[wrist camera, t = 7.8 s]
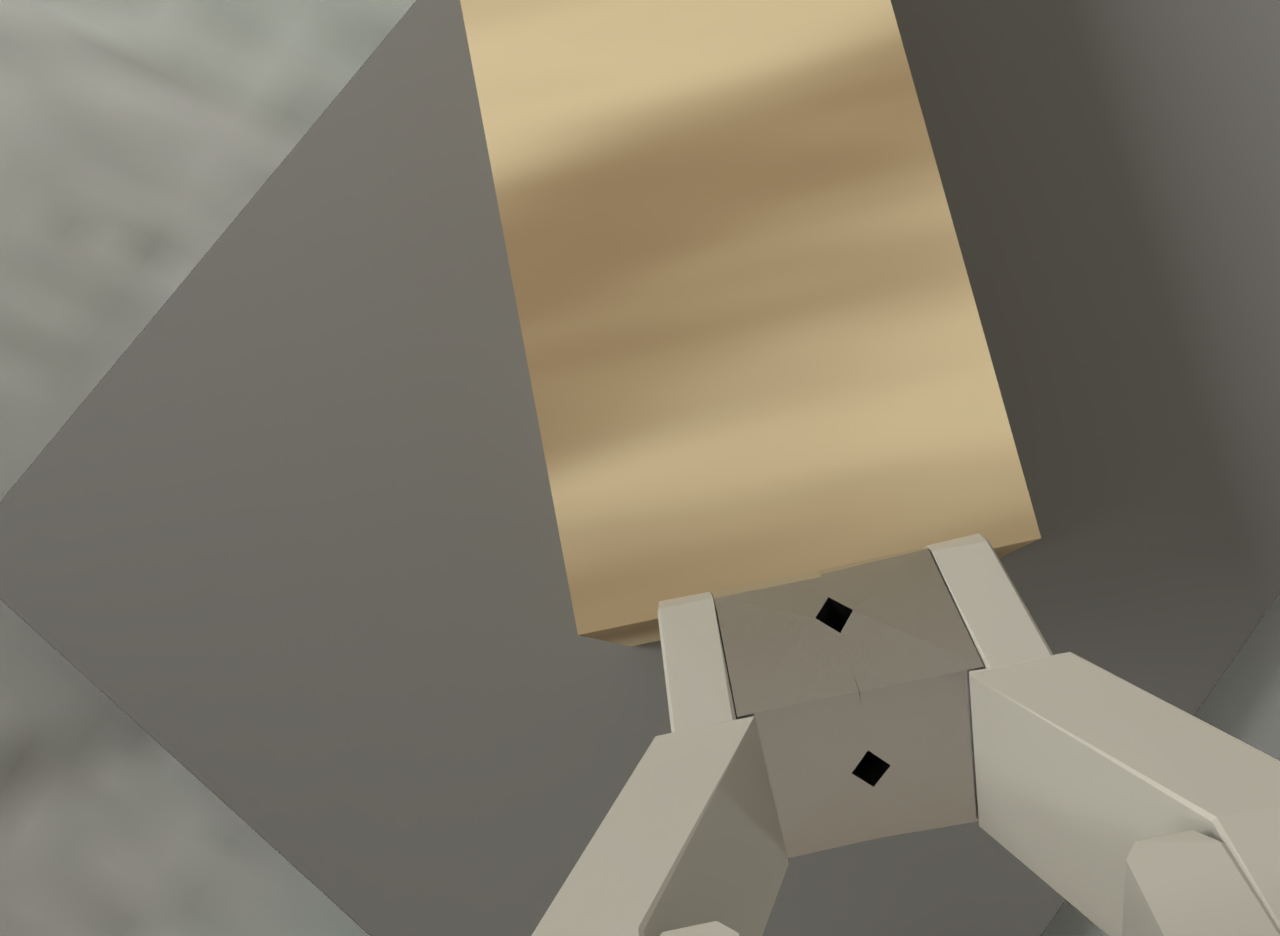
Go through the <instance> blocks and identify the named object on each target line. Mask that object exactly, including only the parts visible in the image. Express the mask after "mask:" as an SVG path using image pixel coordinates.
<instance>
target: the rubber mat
mask: <svg viewBox="0 0 1280 936" xmlns="http://www.w3.org/2000/svg"><path fill="white" fill-rule="evenodd" d="M891 4H892V7H893V11H894V15H895V18H896V22H897V25H898V29H899V32H900V36H901V40H902V43H903V47H904V50H905V54H906V57H907V61H908V64H909V68H910V72H911V75H912V79H913V82H914V86H915V89H916V93H917V97H918V100H919V104H920V107H921V111H922V114H923V118H924V122H925V125H926V129H927V132H928V136H929V139H930V143H931V146H932V150H933V154H934V157H935V161H936V164H937V168H938V171H939V175H940V179H941V182H942V186H943V189H944V193H945V196H946V200H947V203H948V207H949V211H950V214H951V218H952V221H953V225H954V228H955V232H956V236H957V239H958V243H959V246H960V250H961V253H962V257H963V261H964V264H965V268H966V271H967V275H968V278H969V282H970V285H971V289H972V293H973V296H974V300H975V303H976V307H977V310H978V314H979V318H980V321H981V325H982V328H983V332H984V335H985V339H986V343H987V346H988V350H989V353H990V357H991V360H992V364H993V367H994V371H995V375H996V378H997V382H998V385H999V389H1000V392H1001V396H1002V400H1003V403H1004V407H1005V410H1006V414H1007V417H1008V421H1009V425H1010V428H1011V432H1012V435H1013V439H1014V442H1015V446H1016V449H1017V453H1018V457H1019V460H1020V464H1021V467H1022V471H1023V474H1024V478H1025V482H1026V485H1027V489H1028V492H1029V496H1030V499H1031V503H1032V507H1033V510H1034V514H1035V517H1036V521H1037V524H1038V528H1039V531H1040V535H1041V539H1039V540H1037V541H1035V542H1032V543H1030V544H1028V545H1026V546H1024V547H1022V548H1020V549H1018V550H1016V551H1014V552H1011V553H1009V554H1007V555H1005V556H1003V557H1001V558H999V560H1000V561H1001V563H1002V565H1003V567H1004V569H1005V570H1006V572H1007V574H1008V576H1009V577H1010V579H1011V581H1012V583H1013V584H1014V586H1015V588H1016V590H1017V591H1018V593H1019V595H1020V597H1021V599H1022V600H1023V602H1024V604H1025V606H1026V607H1027V609H1028V611H1029V613H1030V614H1031V616H1032V618H1033V620H1034V621H1035V623H1036V625H1037V627H1038V629H1039V630H1040V632H1041V634H1042V636H1043V637H1044V639H1045V641H1046V643H1047V644H1048V646H1049V648H1050V650H1051V651H1052V653H1053V655H1056V654H1061V653H1066V652H1072V653H1074V654H1076V655H1078V656H1080V657H1082V658H1084V659H1086V660H1088V661H1090V662H1091V663H1093V664H1095V665H1097V666H1099V667H1101V668H1103V669H1105V670H1107V671H1109V672H1111V673H1113V674H1114V675H1116V676H1118V677H1120V678H1122V679H1124V680H1126V681H1128V682H1130V683H1132V684H1134V685H1136V686H1137V687H1139V688H1141V689H1143V690H1145V691H1147V692H1149V693H1151V694H1153V695H1155V696H1157V697H1159V698H1160V699H1162V700H1164V701H1166V702H1168V703H1170V704H1172V705H1174V706H1176V707H1178V708H1180V709H1182V710H1183V711H1185V712H1187V713H1189V714H1191V715H1193V716H1194V715H1195V713H1196V712H1197V710H1198V709H1199V707H1200V706H1201V704H1202V703H1203V702H1204V700H1205V699H1206V697H1207V696H1208V694H1209V693H1210V692H1211V690H1212V689H1213V687H1214V686H1215V684H1216V683H1217V682H1218V680H1219V679H1220V677H1221V676H1222V674H1223V673H1224V671H1225V670H1226V669H1227V667H1228V666H1229V664H1230V663H1231V661H1232V660H1233V659H1234V657H1235V656H1236V654H1237V653H1238V651H1239V650H1240V648H1241V647H1242V646H1243V644H1244V643H1245V641H1246V640H1247V638H1248V637H1249V636H1250V634H1251V633H1252V631H1253V630H1254V628H1255V627H1256V625H1257V624H1258V623H1259V621H1260V620H1261V618H1262V617H1263V615H1264V614H1265V613H1266V611H1267V610H1268V608H1269V607H1270V605H1271V604H1272V602H1273V601H1274V600H1275V598H1276V597H1277V595H1278V594H1279V592H1280V0H891ZM0 599H1V600H2V601H3V602H4V603H5V604H6V605H7V606H8V607H9V608H10V609H12V610H13V611H14V612H15V613H16V614H17V615H18V616H19V617H20V618H21V619H23V620H24V621H25V622H26V623H27V624H28V625H29V626H30V627H31V628H32V629H34V630H35V631H36V632H37V633H38V634H39V635H40V636H41V637H42V638H43V639H45V640H46V641H47V642H48V643H49V644H50V645H51V646H52V647H53V648H54V649H56V650H57V651H58V652H59V653H60V654H61V655H62V656H63V657H64V658H65V659H67V660H68V661H69V662H70V663H71V664H72V665H73V666H74V667H75V668H76V669H78V670H79V671H80V672H81V673H82V674H83V675H84V676H85V677H86V678H87V679H89V680H90V681H91V682H92V683H93V684H94V685H95V686H96V687H97V688H98V689H100V690H101V691H102V692H103V693H104V694H105V695H106V696H107V697H108V698H109V699H110V700H112V701H113V702H114V703H115V704H116V705H117V706H118V707H119V708H120V709H121V710H123V711H124V712H125V713H126V714H127V715H128V716H129V717H130V718H131V719H132V720H134V721H135V722H136V723H137V724H138V725H139V726H140V727H141V728H142V729H143V730H145V731H146V732H147V733H148V734H149V735H150V736H151V737H152V738H153V739H154V740H156V741H157V742H158V743H159V744H160V745H161V746H162V747H163V748H164V749H165V750H167V751H168V752H169V753H170V754H171V755H172V756H173V757H174V758H175V759H176V760H178V761H179V762H180V763H181V764H182V765H183V766H184V767H185V768H186V769H187V770H189V771H190V772H191V773H192V774H193V775H194V776H195V777H196V778H197V779H198V780H200V781H201V782H202V783H203V784H204V785H205V786H206V787H207V788H208V789H209V790H211V791H212V792H213V793H214V794H215V795H216V796H217V797H218V798H219V799H220V800H222V801H223V802H224V803H225V804H226V805H227V806H228V807H229V808H230V809H231V810H233V811H234V812H235V813H236V814H237V815H238V816H239V817H240V818H241V819H242V820H244V821H245V822H246V823H247V824H248V825H249V826H250V827H251V828H252V829H253V830H255V831H256V832H257V833H258V834H259V835H260V836H261V837H262V838H263V839H264V840H266V841H267V842H268V843H269V844H270V845H271V846H272V847H273V848H274V849H275V850H277V851H278V852H279V853H280V854H281V855H282V856H283V857H284V858H285V859H286V860H288V861H289V862H290V863H291V864H292V865H293V866H294V867H295V868H296V869H297V870H299V871H300V872H301V873H302V874H303V875H304V876H305V877H306V878H307V879H308V880H310V881H311V882H312V883H313V884H314V885H315V886H316V887H317V888H318V889H319V890H321V891H322V892H323V893H324V894H325V895H326V896H327V897H328V898H329V899H330V900H332V901H333V902H334V903H335V904H336V905H337V906H338V907H339V908H340V909H341V910H343V911H344V912H345V913H346V914H347V915H348V916H349V917H350V918H351V919H352V920H354V921H355V922H356V923H357V924H358V925H359V926H360V927H361V928H362V929H363V930H365V931H366V932H367V933H368V934H369V935H370V936H531V935H532V934H533V932H534V931H535V929H536V927H537V926H538V924H539V922H540V921H541V919H542V918H543V916H544V914H545V913H546V911H547V910H548V908H549V906H550V905H551V903H552V902H553V900H554V898H555V897H556V895H557V894H558V892H559V890H560V889H561V887H562V886H563V884H564V882H565V881H566V879H567V878H568V876H569V874H570V873H571V871H572V869H573V868H574V866H575V865H576V863H577V861H578V860H579V858H580V857H581V855H582V853H583V852H584V850H585V849H586V847H587V845H588V844H589V842H590V841H591V839H592V837H593V836H594V834H595V833H596V831H597V829H598V828H599V826H600V825H601V823H602V821H603V820H604V818H605V816H606V815H607V813H608V812H609V810H610V808H611V807H612V805H613V804H614V802H615V800H616V799H617V797H618V796H619V794H620V792H621V791H622V789H623V788H624V786H625V784H626V783H627V781H628V780H629V778H630V776H631V775H632V773H633V772H634V770H635V768H636V767H637V765H638V763H639V762H640V760H641V759H642V757H643V755H644V754H645V752H646V751H647V749H648V747H649V746H650V744H651V743H652V741H653V739H654V738H655V736H659V735H663V734H668V733H671V725H670V716H669V707H668V699H667V690H666V682H665V673H664V665H663V656H662V648H661V640H660V641H655V642H650V643H645V644H640V645H636V646H627V645H622V644H618V643H613V642H608V641H603V640H599V639H594V638H589V637H585V636H580V635H578V633H577V627H576V622H575V617H574V611H573V606H572V600H571V595H570V590H569V584H568V579H567V573H566V568H565V563H564V557H563V552H562V547H561V541H560V536H559V530H558V525H557V520H556V514H555V509H554V503H553V498H552V493H551V487H550V482H549V477H548V471H547V466H546V460H545V455H544V450H543V444H542V439H541V433H540V428H539V423H538V417H537V412H536V406H535V401H534V396H533V390H532V385H531V380H530V374H529V369H528V363H527V358H526V353H525V347H524V342H523V336H522V331H521V326H520V320H519V315H518V310H517V304H516V299H515V293H514V288H513V283H512V277H511V272H510V266H509V261H508V256H507V250H506V245H505V239H504V234H503V229H502V223H501V218H500V213H499V207H498V202H497V196H496V191H495V186H494V180H493V175H492V169H491V164H490V159H489V153H488V148H487V142H486V137H485V132H484V126H483V121H482V116H481V110H480V105H479V99H478V94H477V89H476V83H475V78H474V72H473V67H472V62H471V56H470V51H469V46H468V40H467V35H466V29H465V24H464V19H463V13H462V8H461V2H460V0H416V2H415V3H414V4H413V5H412V6H411V8H410V9H409V10H408V11H407V12H406V14H405V15H404V16H403V17H402V18H401V20H400V21H399V22H398V23H397V24H396V26H395V27H394V28H393V29H392V30H391V32H390V33H389V34H388V35H387V37H386V38H385V39H384V40H383V41H382V43H381V44H380V45H379V46H378V47H377V49H376V50H375V51H374V52H373V53H372V55H371V56H370V57H369V58H368V59H367V61H366V62H365V63H364V64H363V65H362V67H361V68H360V69H359V70H358V71H357V73H356V74H355V75H354V76H353V77H352V79H351V80H350V81H349V82H348V84H347V85H346V86H345V87H344V88H343V90H342V91H341V92H340V93H339V94H338V96H337V97H336V98H335V99H334V100H333V102H332V103H331V104H330V105H329V106H328V108H327V109H326V110H325V111H324V112H323V114H322V115H321V116H320V117H319V118H318V120H317V121H316V122H315V123H314V124H313V126H312V127H311V128H310V129H309V131H308V132H307V133H306V134H305V135H304V137H303V138H302V139H301V140H300V141H299V143H298V144H297V145H296V146H295V147H294V149H293V150H292V151H291V152H290V153H289V155H288V156H287V157H286V158H285V159H284V161H283V162H282V163H281V164H280V165H279V167H278V168H277V169H276V170H275V171H274V173H273V174H272V175H271V176H270V177H269V179H268V180H267V181H266V182H265V184H264V185H263V186H262V187H261V188H260V190H259V191H258V192H257V193H256V194H255V196H254V197H253V198H252V199H251V200H250V202H249V203H248V204H247V205H246V206H245V208H244V209H243V210H242V211H241V212H240V214H239V215H238V216H237V217H236V218H235V220H234V221H233V222H232V223H231V224H230V226H229V227H228V228H227V229H226V231H225V232H224V233H223V234H222V235H221V237H220V238H219V239H218V240H217V241H216V243H215V244H214V245H213V246H212V247H211V249H210V250H209V251H208V252H207V253H206V255H205V256H204V257H203V258H202V259H201V261H200V262H199V263H198V264H197V265H196V267H195V268H194V269H193V270H192V271H191V273H190V274H189V275H188V276H187V278H186V279H185V280H184V281H183V282H182V284H181V285H180V286H179V287H178V288H177V290H176V291H175V292H174V293H173V294H172V296H171V297H170V298H169V299H168V300H167V302H166V303H165V304H164V305H163V306H162V308H161V309H160V310H159V311H158V312H157V314H156V315H155V316H154V317H153V318H152V320H151V321H150V322H149V323H148V324H147V326H146V327H145V328H144V329H143V331H142V332H141V333H140V334H139V335H138V337H137V338H136V339H135V340H134V341H133V343H132V344H131V345H130V346H129V347H128V349H127V350H126V351H125V352H124V353H123V355H122V356H121V357H120V358H119V359H118V361H117V362H116V363H115V364H114V365H113V367H112V368H111V369H110V370H109V371H108V373H107V374H106V375H105V376H104V378H103V379H102V380H101V381H100V382H99V384H98V385H97V386H96V387H95V388H94V390H93V391H92V392H91V393H90V394H89V396H88V397H87V398H86V399H85V400H84V402H83V403H82V404H81V405H80V406H79V408H78V409H77V410H76V411H75V412H74V414H73V415H72V416H71V417H70V418H69V420H68V421H67V422H66V423H65V425H64V426H63V427H62V428H61V429H60V431H59V432H58V433H57V434H56V435H55V437H54V438H53V439H52V440H51V441H50V443H49V444H48V445H47V446H46V447H45V449H44V450H43V451H42V452H41V453H40V455H39V456H38V457H37V458H36V459H35V461H34V462H33V463H32V464H31V465H30V467H29V468H28V469H27V470H26V471H25V473H24V474H23V475H22V476H21V478H20V479H19V480H18V481H17V482H16V484H15V485H14V486H13V487H12V488H11V490H10V491H9V492H8V493H7V494H6V496H5V497H4V498H3V499H2V500H1V502H0ZM787 859H788V863H789V865H788V867H787V870H786V873H785V875H784V878H783V881H782V884H781V886H780V889H779V892H778V894H777V897H776V900H775V903H774V905H773V908H772V911H771V913H770V916H769V919H768V921H767V924H766V927H765V930H764V932H763V935H762V936H1041V934H1042V933H1043V932H1044V930H1045V929H1046V927H1047V926H1048V924H1049V923H1050V921H1051V920H1052V919H1053V917H1054V916H1055V914H1056V913H1057V911H1058V910H1059V909H1060V907H1061V906H1062V904H1063V903H1064V901H1065V900H1066V899H1065V898H1063V897H1062V896H1061V895H1060V894H1059V893H1057V892H1056V891H1055V890H1054V889H1053V888H1052V887H1050V886H1049V885H1048V884H1047V883H1046V882H1044V881H1043V880H1042V879H1041V878H1040V877H1039V876H1037V875H1036V874H1035V873H1034V872H1033V871H1032V870H1030V869H1029V868H1028V867H1027V866H1026V865H1024V864H1023V863H1022V862H1021V861H1020V860H1019V859H1017V858H1016V857H1015V856H1014V855H1013V854H1011V853H1010V852H1009V851H1008V850H1007V849H1006V848H1004V847H1003V846H1002V845H1001V844H1000V843H999V842H997V841H996V840H995V839H994V838H993V837H991V836H990V835H989V834H988V833H987V832H986V831H984V830H983V829H982V828H981V827H980V826H979V821H977V822H971V823H965V824H959V825H953V826H947V827H941V828H935V829H929V830H923V831H917V832H911V833H905V834H899V835H893V836H887V837H881V838H876V839H872V840H867V841H863V842H859V843H854V844H850V845H845V846H841V847H836V848H832V849H827V850H823V851H818V852H814V853H809V854H805V855H800V856H796V857H791V858H787Z"/></svg>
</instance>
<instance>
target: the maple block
mask: <svg viewBox="0 0 1280 936" xmlns="http://www.w3.org/2000/svg"><path fill="white" fill-rule="evenodd" d="M460 2H461V8H462V13H463V19H464V24H465V29H466V35H467V40H468V46H469V51H470V56H471V62H472V67H473V72H474V78H475V83H476V89H477V94H478V99H479V105H480V110H481V116H482V121H483V126H484V132H485V137H486V142H487V148H488V153H489V159H490V164H491V169H492V175H493V180H494V186H495V191H496V196H497V202H498V207H499V213H500V218H501V223H502V229H503V234H504V239H505V245H506V250H507V256H508V261H509V266H510V272H511V277H512V283H513V288H514V293H515V299H516V304H517V310H518V315H519V320H520V326H521V331H522V336H523V342H524V347H525V353H526V358H527V363H528V369H529V374H530V380H531V385H532V390H533V396H534V401H535V406H536V412H537V417H538V423H539V428H540V433H541V439H542V444H543V450H544V455H545V460H546V466H547V471H548V477H549V482H550V487H551V493H552V498H553V503H554V509H555V514H556V520H557V525H558V530H559V536H560V541H561V547H562V552H563V557H564V563H565V568H566V573H567V579H568V584H569V590H570V595H571V600H572V606H573V611H574V617H575V622H576V627H577V633H578V635H580V636H585V637H589V638H594V639H599V640H603V641H608V642H613V643H618V644H622V645H627V646H636V645H640V644H645V643H650V642H655V641H660V640H661V639H660V630H659V622H658V606H659V601H664V600H669V599H674V598H679V597H684V596H690V595H695V594H700V593H705V592H712V593H713V596H714V592H713V590H716V589H722V588H727V587H732V586H738V585H743V584H748V583H753V582H759V581H764V580H769V579H775V578H780V577H785V576H791V575H796V574H801V573H806V572H812V571H817V570H822V569H827V568H832V567H836V566H841V565H845V564H850V563H855V562H859V561H864V560H868V559H873V558H877V557H882V556H887V555H891V554H896V553H900V552H905V551H909V550H914V549H919V548H925V546H927V545H931V544H935V543H939V542H944V541H948V540H952V539H957V538H961V537H965V536H969V535H974V534H978V533H980V534H981V535H983V536H984V537H986V538H987V539H988V540H989V542H990V544H991V546H992V547H993V549H994V551H995V553H996V554H997V556H998V558H1001V557H1003V556H1005V555H1007V554H1009V553H1011V552H1014V551H1016V550H1018V549H1020V548H1022V547H1024V546H1026V545H1028V544H1030V543H1032V542H1035V541H1037V540H1039V539H1041V535H1040V531H1039V528H1038V524H1037V521H1036V517H1035V514H1034V510H1033V507H1032V503H1031V499H1030V496H1029V492H1028V489H1027V485H1026V482H1025V478H1024V474H1023V471H1022V467H1021V464H1020V460H1019V457H1018V453H1017V449H1016V446H1015V442H1014V439H1013V435H1012V432H1011V428H1010V425H1009V421H1008V417H1007V414H1006V410H1005V407H1004V403H1003V400H1002V396H1001V392H1000V389H999V385H998V382H997V378H996V375H995V371H994V367H993V364H992V360H991V357H990V353H989V350H988V346H987V343H986V339H985V335H984V332H983V328H982V325H981V321H980V318H979V314H978V310H977V307H976V303H975V300H974V296H973V293H972V289H971V285H970V282H969V278H968V275H967V271H966V268H965V264H964V261H963V257H962V253H961V250H960V246H959V243H958V239H957V236H956V232H955V228H954V225H953V221H952V218H951V214H950V211H949V207H948V203H947V200H946V196H945V193H944V189H943V186H942V182H941V179H940V175H939V171H938V168H937V164H936V161H935V157H934V154H933V150H932V146H931V143H930V139H929V136H928V132H927V129H926V125H925V122H924V118H923V114H922V111H921V107H920V104H919V100H918V97H917V93H916V89H915V86H914V82H913V79H912V75H911V72H910V68H909V64H908V61H907V57H906V54H905V50H904V47H903V43H902V40H901V36H900V32H899V29H898V25H897V22H896V18H895V15H894V11H893V7H892V4H891V0H460ZM714 600H715V599H714Z"/></svg>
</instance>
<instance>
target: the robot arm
mask: <svg viewBox="0 0 1280 936" xmlns="http://www.w3.org/2000/svg"><path fill="white" fill-rule="evenodd" d="M713 592H714V596H713V593H712V592H705V593H700V594H695V595H690V596H684V597H679V598H674V599H669V600H664V601H659V606H658V622H659V630H660V639H661V648H662V656H663V665H664V673H665V682H666V690H667V699H668V707H669V716H670V725H671V733H668V734H663V735H659V736H655V738H654V739H653V741H652V743H651V744H650V746H649V747H648V749H647V751H646V752H645V754H644V755H643V757H642V759H641V760H640V762H639V763H638V765H637V767H636V768H635V770H634V772H633V773H632V775H631V776H630V778H629V780H628V781H627V783H626V784H625V786H624V788H623V789H622V791H621V792H620V794H619V796H618V797H617V799H616V800H615V802H614V804H613V805H612V807H611V808H610V810H609V812H608V813H607V815H606V816H605V818H604V820H603V821H602V823H601V825H600V826H599V828H598V829H597V831H596V833H595V834H594V836H593V837H592V839H591V841H590V842H589V844H588V845H587V847H586V849H585V850H584V852H583V853H582V855H581V857H580V858H579V860H578V861H577V863H576V865H575V866H574V868H573V869H572V871H571V873H570V874H569V876H568V878H567V879H566V881H565V882H564V884H563V886H562V887H561V889H560V890H559V892H558V894H557V895H556V897H555V898H554V900H553V902H552V903H551V905H550V906H549V908H548V910H547V911H546V913H545V914H544V916H543V918H542V919H541V921H540V922H539V924H538V926H537V927H536V929H535V931H534V932H533V934H532V935H531V936H762V935H763V932H764V930H765V927H766V924H767V921H768V919H769V916H770V913H771V911H772V908H773V905H774V903H775V900H776V897H777V894H778V892H779V889H780V886H781V884H782V881H783V878H784V875H785V873H786V870H787V867H788V865H789V863H788V859H787V858H791V857H796V856H800V855H805V854H809V853H814V852H818V851H823V850H827V849H832V848H836V847H841V846H845V845H850V844H854V843H859V842H863V841H867V840H872V839H876V838H881V837H887V836H893V835H899V834H905V833H911V832H917V831H923V830H929V829H935V828H941V827H947V826H953V825H959V824H965V823H971V822H977V821H979V826H980V827H981V828H982V829H983V830H984V831H986V832H987V833H988V834H989V835H990V836H991V837H993V838H994V839H995V840H996V841H997V842H999V843H1000V844H1001V845H1002V846H1003V847H1004V848H1006V849H1007V850H1008V851H1009V852H1010V853H1011V854H1013V855H1014V856H1015V857H1016V858H1017V859H1019V860H1020V861H1021V862H1022V863H1023V864H1024V865H1026V866H1027V867H1028V868H1029V869H1030V870H1032V871H1033V872H1034V873H1035V874H1036V875H1037V876H1039V877H1040V878H1041V879H1042V880H1043V881H1044V882H1046V883H1047V884H1048V885H1049V886H1050V887H1052V888H1053V889H1054V890H1055V891H1056V892H1057V893H1059V894H1060V895H1061V896H1062V897H1063V898H1065V899H1066V900H1067V901H1068V902H1069V903H1070V904H1072V905H1073V906H1074V907H1075V908H1076V909H1078V910H1079V911H1080V912H1081V913H1082V914H1083V915H1085V916H1086V917H1087V918H1088V919H1089V920H1090V921H1092V922H1093V923H1094V924H1095V925H1096V926H1098V927H1099V928H1100V929H1101V930H1102V931H1103V932H1105V933H1106V934H1107V935H1108V936H1280V761H1279V760H1277V759H1275V758H1274V757H1272V756H1270V755H1268V754H1266V753H1264V752H1262V751H1260V750H1258V749H1256V748H1254V747H1252V746H1251V745H1249V744H1247V743H1245V742H1243V741H1241V740H1239V739H1237V738H1235V737H1233V736H1231V735H1229V734H1228V733H1226V732H1224V731H1222V730H1220V729H1218V728H1216V727H1214V726H1212V725H1210V724H1208V723H1206V722H1205V721H1203V720H1201V719H1199V718H1197V717H1195V716H1193V715H1191V714H1189V713H1187V712H1185V711H1183V710H1182V709H1180V708H1178V707H1176V706H1174V705H1172V704H1170V703H1168V702H1166V701H1164V700H1162V699H1160V698H1159V697H1157V696H1155V695H1153V694H1151V693H1149V692H1147V691H1145V690H1143V689H1141V688H1139V687H1137V686H1136V685H1134V684H1132V683H1130V682H1128V681H1126V680H1124V679H1122V678H1120V677H1118V676H1116V675H1114V674H1113V673H1111V672H1109V671H1107V670H1105V669H1103V668H1101V667H1099V666H1097V665H1095V664H1093V663H1091V662H1090V661H1088V660H1086V659H1084V658H1082V657H1080V656H1078V655H1076V654H1074V653H1072V652H1066V653H1061V654H1056V655H1053V653H1052V651H1051V650H1050V648H1049V646H1048V644H1047V643H1046V641H1045V639H1044V637H1043V636H1042V634H1041V632H1040V630H1039V629H1038V627H1037V625H1036V623H1035V621H1034V620H1033V618H1032V616H1031V614H1030V613H1029V611H1028V609H1027V607H1026V606H1025V604H1024V602H1023V600H1022V599H1021V597H1020V595H1019V593H1018V591H1017V590H1016V588H1015V586H1014V584H1013V583H1012V581H1011V579H1010V577H1009V576H1008V574H1007V572H1006V570H1005V569H1004V567H1003V565H1002V563H1001V561H1000V560H999V558H998V556H997V554H996V553H995V551H994V549H993V547H992V546H991V544H990V542H989V540H988V539H987V538H986V537H984V536H983V535H981V534H980V533H978V534H974V535H969V536H965V537H961V538H957V539H952V540H948V541H944V542H939V543H935V544H931V545H927V546H925V548H919V549H914V550H909V551H905V552H900V553H896V554H891V555H887V556H882V557H877V558H873V559H868V560H864V561H859V562H855V563H850V564H845V565H841V566H836V567H832V568H827V569H822V570H817V571H812V572H806V573H801V574H796V575H791V576H785V577H780V578H775V579H769V580H764V581H759V582H753V583H748V584H743V585H738V586H732V587H727V588H722V589H716V590H713ZM714 599H715V600H714Z"/></svg>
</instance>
